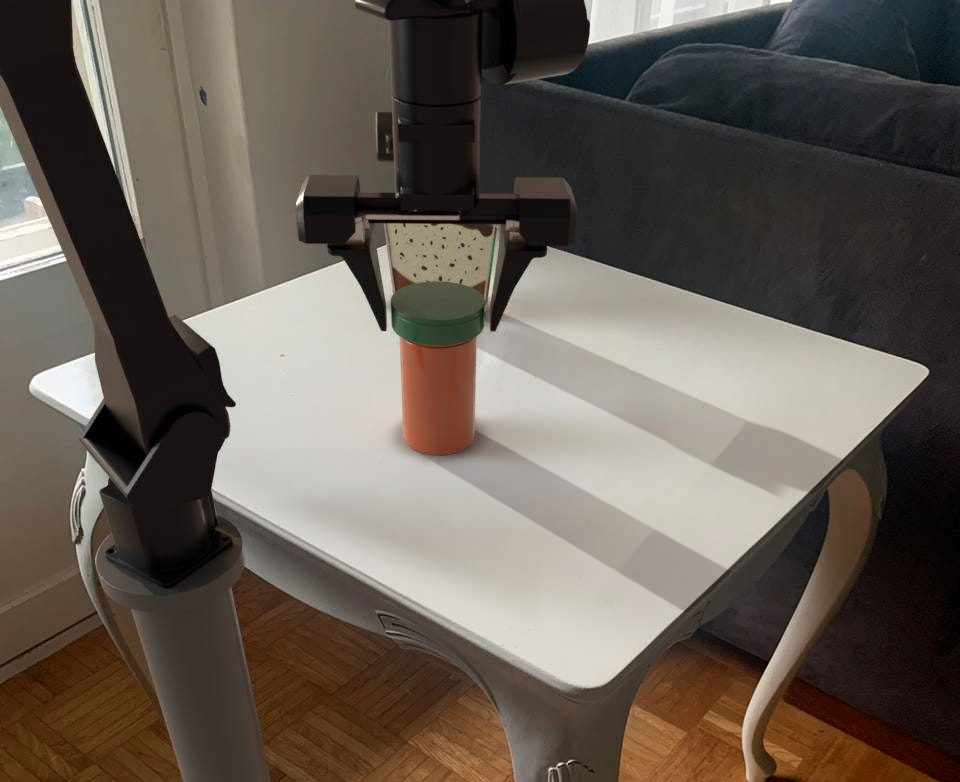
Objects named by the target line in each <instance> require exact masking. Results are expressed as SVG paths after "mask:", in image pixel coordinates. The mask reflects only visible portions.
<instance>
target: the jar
mask: <svg viewBox="0 0 960 782" xmlns="http://www.w3.org/2000/svg"><path fill="white" fill-rule="evenodd" d="M398 336H399V335H398ZM398 338H399V361H400V363H399V364H400V382H401V383H400V384H401V388H400V389H401V413H402V417H401V418H402V438H403V440H404V442H405V445H407V447H409V448H411V449H412V450H414V451H416V452H419V453H421V454H424V455H425V454H426V455H433V456H445V455H446V456H447V455H453V454H456V453H460V452H462V451H464V450H466V449H467V448H469V447H470V446H471V445H472V444H473V442H474V440H475V437H476V435H475V434H476V430H475V429H476V390H477V389H476V387H477V385H476V384H477V344H478V343H477V341H478V340H477V338H478V336H477V337H475V338H473V339H471V340H469V341H466V342H462V343H459V344H452V345H425V344H419V343H415V342H411V341H409V340H406V339H404V338H402V337H400V336H399V337H398Z"/></svg>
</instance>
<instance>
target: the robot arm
mask: <svg viewBox="0 0 960 782" xmlns="http://www.w3.org/2000/svg"><path fill="white" fill-rule="evenodd" d="M72 3H73V2H72V0H0V110H1V112H2V114H3V116H4V119H5V122H6V124H7V125H8V128H9V130H10V132H11V135H12V137H13V139H14V142H15V145H16V147H17V149H18V152H19V153H20V156H21V159H22V160H23V163H24V165H25V168H26V170H27V172H28V175H29V177H30V179H31V181H32V184H33V186H34V189H35V191H36V193H37V195H38V198H39V200H40V202H41V205H42V207H43V210H44V211H45V214H46V216H47V218H48V221H49V223H50V225H51V228H52V230H53V233H54V235H55V238H56V239H57V242H58V244H59V246H60V249H61V251H62V253H63V256H64V258H65V261H66V263H67V265H68V267H69V270H70V272H71V275H72V276H73V279H74V281H75V284H76V286H77V288H78V291H79V293H80V296H81V297H82V300H83V303H84V305H85V307H86V310H87V311H88V314H89V316H90V318H91V321H92V322H91V323H92V326H93V333H94V334H93V336H94V338H93V339H94V341H93V342H94V363H95V367H96V372H97V376H98V380H99V385H100V388H101V392H102V396H103V398H102V399H101V401H100V403H99V404H98V406H97V408H96V410H95V411H94V413H93V414H92V416H91V417H90V419H89V421H88V422H87V423H86V425H85V427H84V428H83V430H82V432H81V433H80V434H79V436H78V438H79V439H78V441H79V443H80V444H81V445H82V446H83V448H84V449H85V450H86V451H87V453H88V454H89V456H91V457H92V459H93V460H94V461H95V463H97V464H98V466H99V467H100V468H101V469H102V470H103V472H104V473H105V474H106V475H107V476H108V478H107V481H106V485H105V486H103V487H102V488H100V489H99V490H98V493H99V497H100V500H101V503H102V506H103V510H104V513H105V516H106V519H107V523H108V527H109V529H110V534H111V533H112V537H113V540H114V543H115V544H113V545H112V546H110V547H109V548H107V549H106V550H105V551H104V555H105V558H106V559H107V560H109V561H111V562H113V563H115V564H117V565H119V566H121V567H123V568H125V569H127V570H128V571H130V572H132V573H134V574H136V575H138V576H140V577H142V578H144V579H146V580H148V581H150V582H152V583H154V584H156V585H158V586H160V587H162V588H164V589H169V588H172V587H174V586H175V585H177V584H178V583H180V582H181V581H183V580H184V579H185V578H187V577H188V576H190V575H191V574H192V573H194V572H195V571H197V570H198V569H200V568H201V567H202V566H204V565H205V564H207V563H208V562H209V561H211V560H212V559H214V558H215V557H216V556H218V555H219V554H221V553H222V552H224V551H225V550H226V549H228V548H229V547H231V546H232V544H233V541H232V537H231V536H229V535H227V534H225V533H222V532H220V531H218V530H216V529H215V528H216V527H217V526H218V519H217V515H218V514H217V510H216V505H215V500H214V495H213V490H212V488H213V483H214V477H215V472H216V465H217V461H218V454H219V452H220V451H221V449H222V447H223V446H224V443H225V441H226V440H227V439H228V438H229V437H230V434H231V420H230V419H231V418H230V414H229V411H228V409H227V408H235V407H236V406H237V402H236V401H235V400H234V399H233V398H232V396H230V394H229V393H228V391H227V388H226V387H225V385H224V381H223V376H222V370H221V369H222V368H221V362H220V359H219V356H218V353H217V350H216V348H215V347H214V346H213V345H212V344H210V342H208V341H207V340H206V339H205V338H204V337H202V336H201V335H200V334H199V333H198V332H197V331H195V330H194V329H193V328H192V327H191V326H190V325H188V324H187V323H186V322H185V321H183V319H182V318H180V317H179V316H178V315H176V314H173V315H171V316H170V317H169V313H168V312H167V311H168V310H167V309H166V306H165V304H164V300H163V298H162V294H161V292H160V290H159V287H158V284H157V281H156V279H155V276H154V274H153V273H154V272H153V270H152V268H151V265H150V262H149V259H148V257H147V254H146V251H145V249H144V246H143V243H142V240H141V238H140V235H139V231H138V229H137V227H136V224H135V221H134V218H133V216H132V213H131V210H130V208H129V204H128V201H127V199H126V196H125V194H124V191H123V188H122V185H121V182H120V180H119V177H118V175H117V172H116V169H115V166H114V163H113V161H112V157H111V156H110V153H109V150H108V148H107V145H106V142H105V139H104V136H103V133H102V131H101V128H100V125H99V123H98V120H97V116H96V115H95V111H94V109H93V106H92V104H91V103H92V102H91V101H90V98H89V95H88V93H87V90H86V87H85V85H84V81H83V78H82V76H81V73H80V70H79V68H78V64H77V61H76V57H75V49H74V34H73V30H74V29H73V5H72ZM354 6H355V8H356V10H357V11H358V12H360V13H364V14H367V15H370V16H373V17H375V18H380V19H382V20H386V21H388V39H389V40H388V41H389V64H390V65H389V66H390V67H389V69H390V90H391V91H390V92H391V111H376V112H375V154H376V160H377V162H378V163H379V164H385V165H386V164H391V165H392V164H393V170H394V171H393V172H394V173H393V174H394V175H393V176H394V192H361V184H360V178H359V175H357V174H356V175H354V174H353V175H352V174H351V175H349V174H347V175H346V174H345V175H344V174H309V175H308V176H307V177H306V179H305V180H304V181H303V183H301V185H300V186H301V187H300V190H299V193H298V196H297V199H296V203H295V218H296V229H297V237H298V238H297V239H298V241H299V242H301V243H304V244H306V245H326V250H327V251H326V252H327V253H328V255H329V256H332V257H341V258H342V260H343V261H344V262H345V264H346V266H347V267H348V268H349V270H350V272H351V273H352V275H353V276H354V278H355V280H356V281H357V283H358V285H359V287H360V288H361V291H362V292H363V294H364V296H365V298H366V301H367V303H368V306H369V307H370V309H371V312H372V314H373V316H374V319H375V320H376V324H377V325H378V327H379V330H380V331H381V332H387V331H388V316H387V311H388V310H387V301H386V296H385V290H384V284H383V278H382V272H381V271H382V270H381V266H380V261H379V253H378V247H377V238H376V226H375V224H384V223H397V224H501V227H500V238H499V241H498V251H497V256H496V257H497V258H496V264H495V271H494V277H493V284H492V291H491V297H490V302H489V303H490V305H489V332H491V333H496V331H497V329H498V327H499V324H500V322H501V320H502V318H503V315H504V313H505V311H506V308H507V306H508V304H509V302H510V299H511V297H512V295H513V293H514V292H515V291H514V290H515V289H516V287H517V285H518V284H519V282H520V280H521V279H522V277H523V275H524V273H525V272H526V270H527V269H528V267H529V266H530V264H531V262H532V261H533V259H537V258H538V259H540V258H541V259H542V258H545V257H546V256H547V255H548V247H569V246H571V245H574V244H576V237H577V236H576V235H577V224H578V205H577V202H576V200H575V196H574V193H573V190H572V187H571V185H569V183H568V182H567V181H566V179H565V178H564V177H536V176H533V177H532V176H531V177H528V176H527V177H525V176H524V177H523V176H515V179H514V186H513V193H480V177H481V176H480V175H481V173H480V172H481V169H480V168H481V131H482V130H481V126H482V125H481V124H482V76H483V78H484V79H485V80H486V81H488V82H489V83H491V84H492V85H495V86H504V85H510V84H516V83H522V82H529V81H534V80H541V79H548V78H551V77H553V78H554V77H558V76H563V75H568V74H570V73H572V72H574V71H575V70H576V69H577V68H578V67H579V66H580V64H581V63H582V61H583V59H584V58H585V55H586V52H587V49H588V46H589V41H590V35H591V34H590V33H591V21H590V20H589V19H588V12H587V7H586V2H585V0H354ZM216 514H217V515H216Z"/></svg>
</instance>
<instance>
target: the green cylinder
mask: <svg viewBox="0 0 960 782" xmlns="http://www.w3.org/2000/svg"><path fill="white" fill-rule="evenodd" d="M484 317H485V299H484V297H483V295H482V294H481V293H480V292H478V291H477V290H475V289H473V288H471V287H469V286H466V285H462V284H458V283H453V282H443V281H431V282H421V283H416V284H412V285H408V286H405V287H403V288H401V289H399V290H398V291H396V292H395V293H394V294H393V293H392V295H391V297H390V321H391V328H392V330H393V332H394V333H395V334H396V335H397V336H400V337H402V338H404V339H406V340H409V341H411V342H415V343H419V344H425V345H452V344H459V343H462V342H466V341H469V340H471V339H473V338H475V337H477V338H478V336H480V334H481V333H483V330H484V329H485V319H484ZM485 318H486V317H485ZM400 337H399V338H400Z"/></svg>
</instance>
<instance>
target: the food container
mask: <svg viewBox="0 0 960 782" xmlns="http://www.w3.org/2000/svg"><path fill="white" fill-rule="evenodd" d="M500 227H501V224H397V223H383V230H384V236H385V245H386V251H387V260H388V267H389V274H390V281H391V288H392V289H391V290H392V295H393V294H394V293H395V292H396V291H398V290H399V289H401V288H403V287H405V286H408V285H412V284H416V283H421V282H431V281H443V282H453V283H458V284H462V285H466V286H469V287H471V288H473V289H475V290H477V291H478V292H480V293H481V294H482V295H483V297H484V299H485V317H484V320H486V316H487V310H488V300H489V294H490V286H491V278H492V271H493V265H494V255H495V249H496V248H495V247H496V242H497V241H496V239H497V240H498V242H499V238H500Z"/></svg>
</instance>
